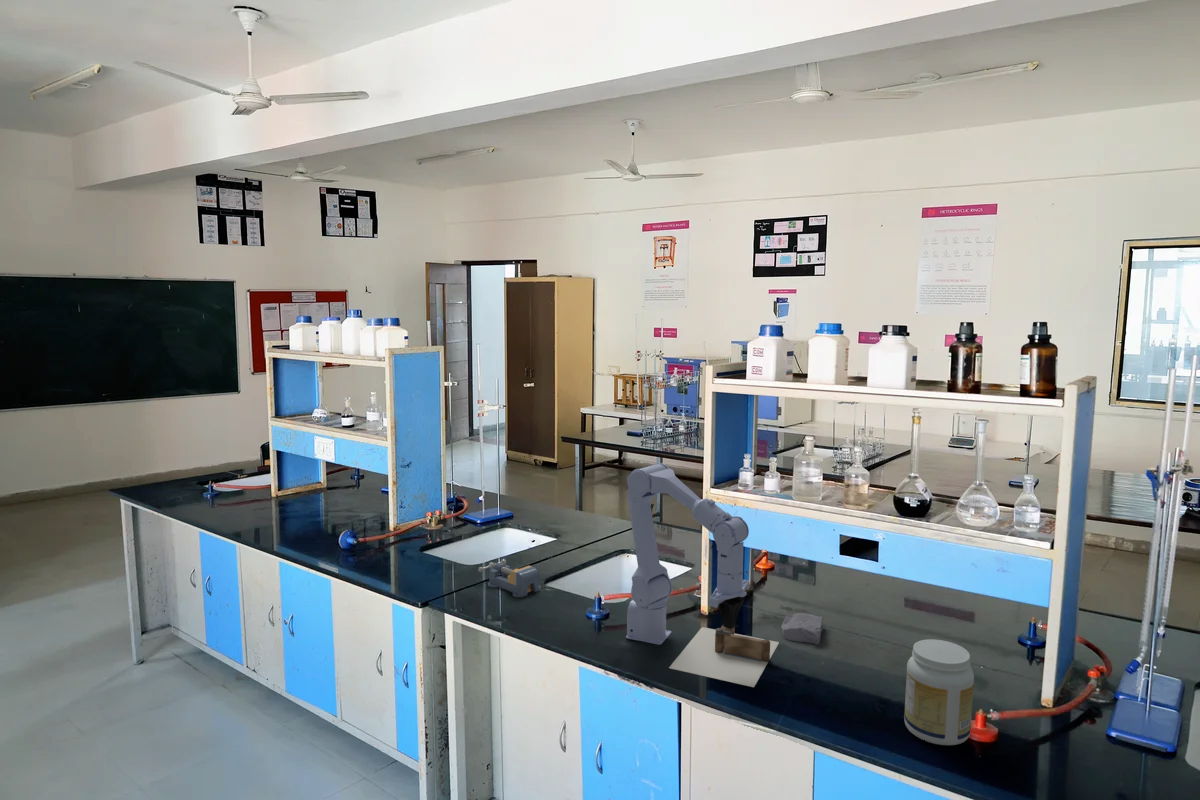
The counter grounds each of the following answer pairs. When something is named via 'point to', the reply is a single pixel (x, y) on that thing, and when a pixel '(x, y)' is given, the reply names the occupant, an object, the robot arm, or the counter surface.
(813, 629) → the stone block
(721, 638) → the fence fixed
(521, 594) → the vise
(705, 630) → the board
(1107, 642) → the counter surface
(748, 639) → the swing rail
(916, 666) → the supplement tub
